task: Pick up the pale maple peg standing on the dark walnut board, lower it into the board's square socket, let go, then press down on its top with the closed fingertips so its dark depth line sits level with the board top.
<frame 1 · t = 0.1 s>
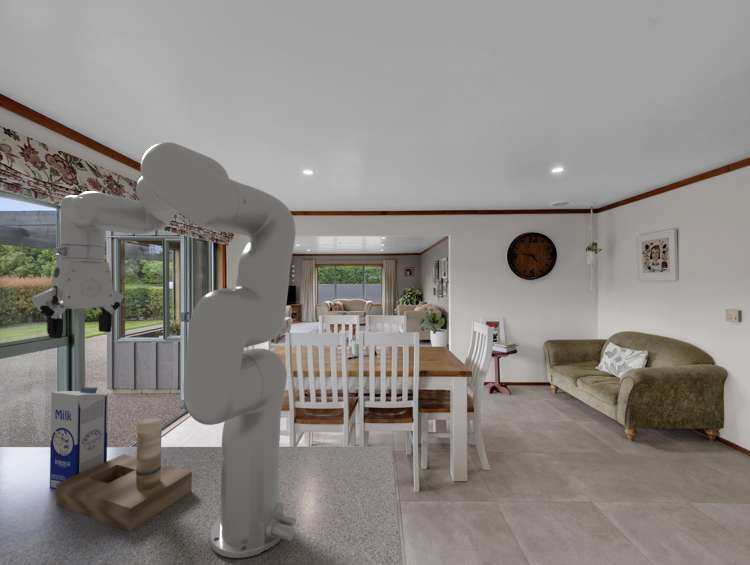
hand: (81, 334, 79), 31 cm above the countertop, fingers open, 9 cm apart
maple peg: (148, 484, 71), point 4 cm above the countertop, touching walnut board
milk carton: (78, 482, 78), on the countertop
walnut board: (126, 497, 73), on the countertop
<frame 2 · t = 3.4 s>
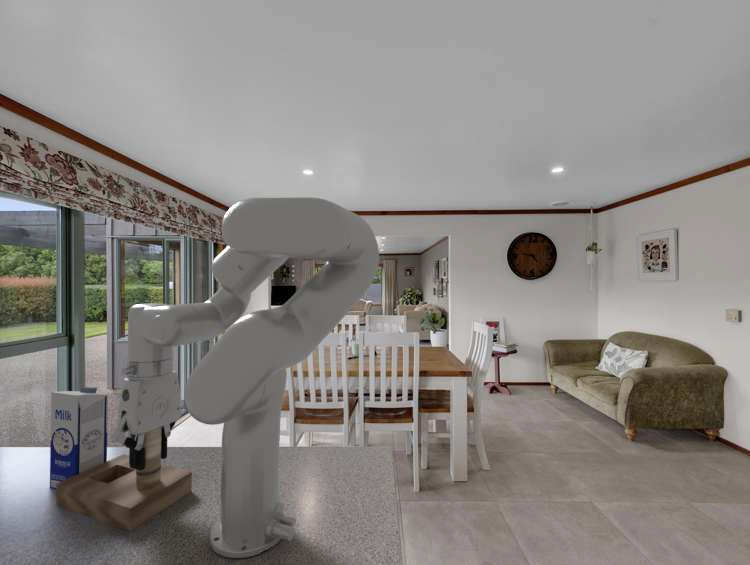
hand: (148, 461, 71), 8 cm above the countertop, fingers closed on maple peg, 4 cm apart
maple peg: (148, 484, 71), point 4 cm above the countertop, touching gripper, walnut board
everything else where it was.
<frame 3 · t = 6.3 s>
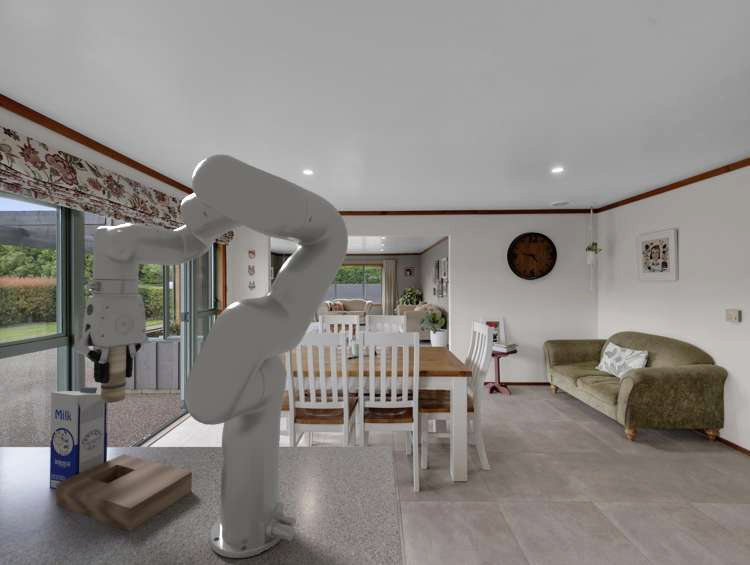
hand: (113, 378, 74), 23 cm above the countertop, fingers closed on maple peg, 4 cm apart
maple peg: (113, 399, 74), point 19 cm above the countertop, touching gripper
everything else where it was.
when the fingers open (6 cm above the countertop, at t = 9.0 s): maple peg stays where it is, resting on walnut board.
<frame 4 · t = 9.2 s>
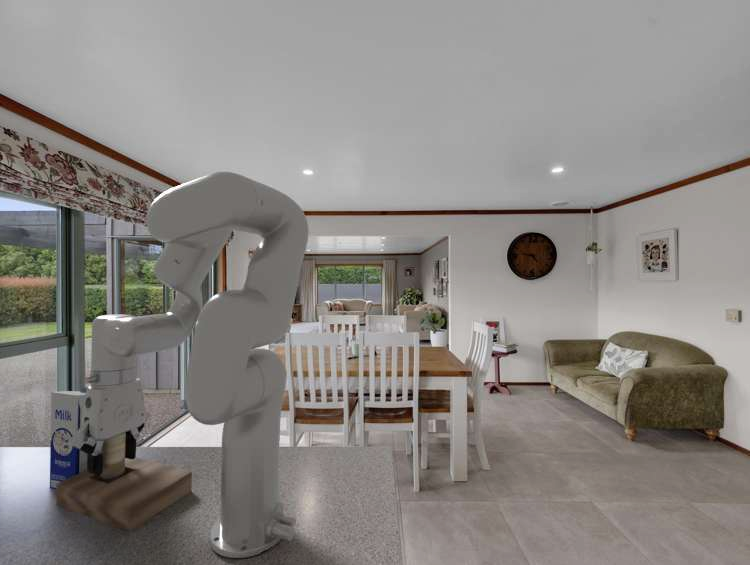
hand: (112, 464, 74), 6 cm above the countertop, fingers open, 6 cm apart
maple peg: (112, 488, 74), point 1 cm above the countertop, touching walnut board
everything else where it was.
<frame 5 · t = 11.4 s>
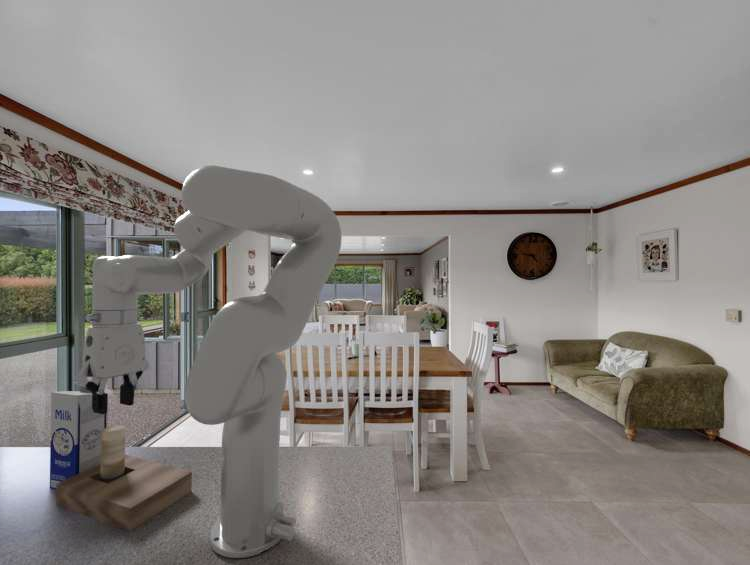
hand: (113, 407, 74), 17 cm above the countertop, fingers open, 4 cm apart
nothing on the countertop moved.
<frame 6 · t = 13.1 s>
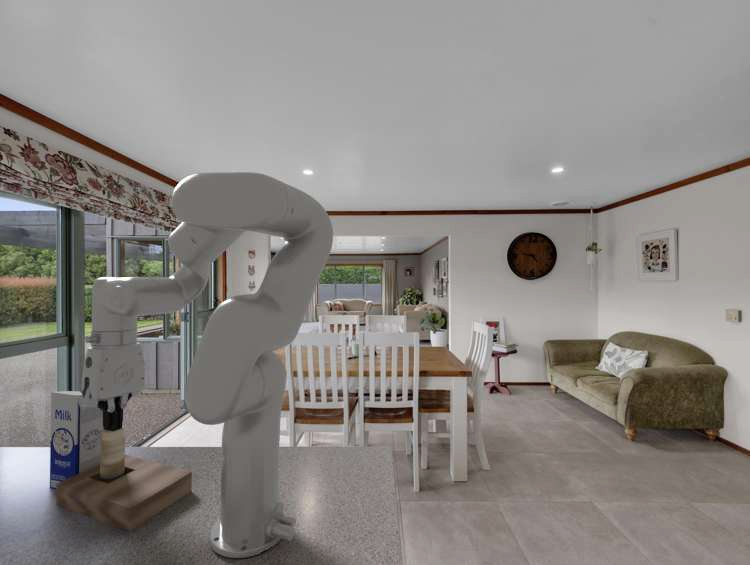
hand: (112, 428, 74), 13 cm above the countertop, fingers closed
maple peg: (112, 488, 74), point 1 cm above the countertop, touching gripper, walnut board
everything else where it was.
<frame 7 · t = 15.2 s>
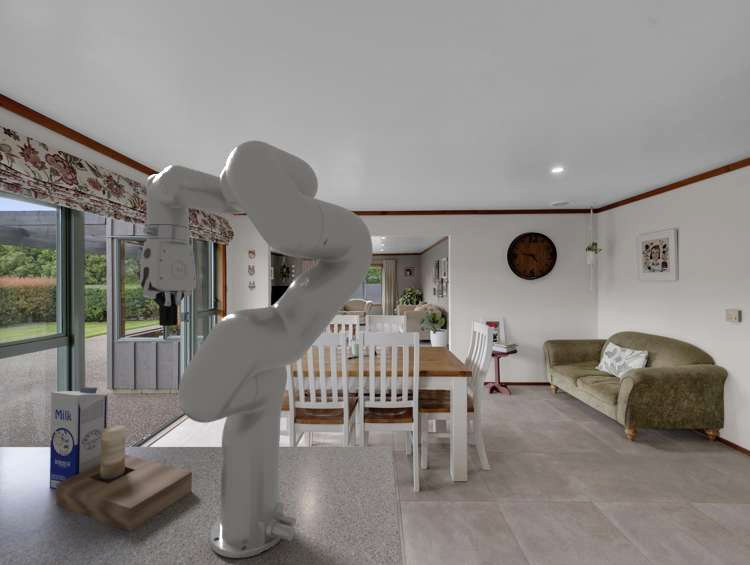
hand: (168, 325, 76), 34 cm above the countertop, fingers closed
maple peg: (112, 488, 74), point 1 cm above the countertop, touching walnut board
everything else where it was.
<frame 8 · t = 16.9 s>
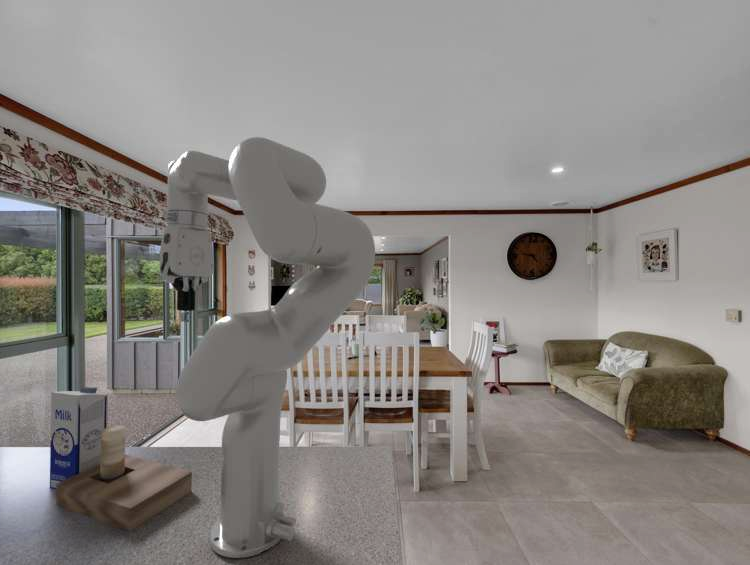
hand: (185, 310, 77), 37 cm above the countertop, fingers closed
nothing on the countertop moved.
at the end: maple peg 0.0 cm from the target spot on the walnut board, point 1.0 cm above the walnut board's base; maple peg tilted 0°; the gripper is holding nothing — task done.
